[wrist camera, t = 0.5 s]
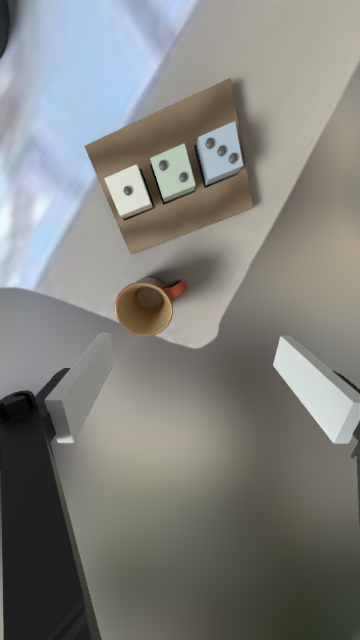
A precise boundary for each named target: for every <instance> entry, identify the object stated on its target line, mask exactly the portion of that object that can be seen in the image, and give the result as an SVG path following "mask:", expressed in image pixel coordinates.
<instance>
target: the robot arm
mask: <svg viewBox="0 0 360 640" xmlns="http://www.w3.org/2000/svg"><path fill="white" fill-rule="evenodd" d="M8 20H9V18H8V3H7V0H0V55H1V53H2V51H3V49H4V46H5V43H6V38H7V33H8ZM113 365H114V358H113V350H112V343H111V334H110V333H100V334H99V335H98V336H97V337H96V339H95V340H94V341H93V342H92V344H91V345H90V346H89V347H88V348H87V349H86V351H85V352H84V353H83V354H82V356H81V357H80V358H79V359H78V360H77V361H76V363H75V364H74V365H73V366H72V368H64V369H62V370H61V371H59V372H58V373H56V374H55V375H54V376H53V377H52V378H51V380H50V381H49V382H48V383H47V384H46V386H44V387H43V388H42V389H41V391H40V392H39V393H38V394H37V395H36V396H35V397H34V394H33V393H32V392H31V391H19V392H15V393H12V394H10V395H8V396H6V397H5V398H3V399H1V400H0V470H1V497H2V498H1V499H2V559H3V560H2V561H3V619H4V621H3V622H4V640H102V639H101V636H100V632H99V629H98V625H97V621H96V617H95V613H94V609H93V605H92V601H91V597H90V594H89V590H88V586H87V582H86V578H85V574H84V570H83V566H82V562H81V559H80V555H79V551H78V547H77V543H76V539H75V535H74V532H73V528H72V524H71V520H70V516H69V512H68V508H67V504H66V500H65V497H64V493H63V489H62V485H61V481H60V477H59V474H58V470H57V466H56V462H55V458H54V455H53V451H52V446H51V444H50V443H51V441H52V439H53V438H54V436H55V435H56V438H57V441H58V443H74V441H75V439H76V437H77V435H78V433H79V431H80V430H81V428H82V425H83V423H84V422H85V419H86V418H87V416H88V414H89V412H90V410H91V408H92V406H93V404H94V402H95V400H96V398H97V396H98V394H99V392H100V390H101V388H102V386H103V384H104V382H105V380H106V378H107V377H108V375H109V373H110V371H111V369H112V367H113ZM273 366H274V367H275V368H276V370H277V371H278V372H279V373H280V375H281V376H282V377H283V378H284V380H285V381H286V382H287V384H288V385H289V386H290V388H291V389H292V390H293V391H294V393H295V394H296V395H297V397H298V398H299V399H300V400H301V402H302V403H303V404H304V406H305V407H306V408H307V410H308V411H309V412H310V414H311V415H312V416H313V417H314V419H315V420H316V421H317V423H318V424H319V425H320V426H321V428H322V429H323V430H324V432H325V433H326V434H327V435H328V437H329V438H330V439H331V441H333V443H349V441H350V439H351V437H352V436H353V435H354V436H355V438H356V439H357V440H358V441H359V442H358V444H357V446H356V448H355V449H354V451H353V453H352V455H351V457H352V458H354V457H355V456H356V455H357V475H358V499H359V522H360V389H357V387H356V386H355V385H354V384H352V383H351V382H350V381H349V380H348V379H346V378H345V377H344V376H342V375H340V374H339V373H337V372H335V371H332V370H330V369H329V368H328V367H327V366H326V365H324V364H323V363H322V362H321V361H320V360H318V359H317V358H316V357H315V356H314V355H313V354H311V353H310V352H309V351H308V350H307V349H305V348H304V347H303V346H302V345H300V344H299V343H298V342H297V341H296V340H295V339H293V338H292V337H291V336H281V337H280V341H279V345H278V348H277V352H276V356H275V360H274V364H273Z"/></svg>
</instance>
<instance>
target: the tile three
mask: <svg viewBox="0 0 360 640" xmlns="http://www.w3.org/2000/svg"><path fill="white" fill-rule="evenodd" d="M196 149H197V153H198V157H199V161H200V165H201V169H202V173H203V177H204V181H205V185H209V184H211V183H214V182H216V181H219V180H221V179H223V178H226V177H228V176H231V175H233V174H236V173H237V172H238V171H239V170H240V169H241V167H242V166H243V162H242V156H241V151H240V145H239V140H238V134H237V129H236V123H235V121H234V122H232V123H229V124H227V125H225V126H222V127H220V128H218V129H216V130H213V131H211V132H209V133H206V134H204V135H202V136H200V137H198V142H197V147H196Z"/></svg>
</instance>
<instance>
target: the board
mask: <svg viewBox="0 0 360 640" xmlns="http://www.w3.org/2000/svg"><path fill="white" fill-rule="evenodd" d="M234 121H235V123H236V129H237V134H238V140H239V145H240V151H241V156H242V162H243V166H242V167H241V169H240V170H239V171H238V172H237V173H236V174H235V176H234V177H231V178H229V179H226V180H224V181H221V182H219V183H216V184H214V185H211V186H209V187H206V188H204V184H203V180H202V176H201V172H200V168H199V164H198V160H197V156H196V152H195V150H197V149H196V147H197V142H198V137H200V136H202V135H204V134H206V133H209V132H211V131H213V130H216V129H218V128H220V127H222V126H225V125H227V124H229V123H232V122H234ZM181 144H185V148H186V151H187V155H188V159H189V163H190V166H191V170H192V174H193V178H194V181H195V188H194V193H192V194H189V195H187V196H184V197H182V198H179V199H177V200H174V201H172V202H169V203H167V204H165V205H163V202H162V199H161V196H160V193H159V190H158V187H157V184H156V181H155V178H154V175H153V172H152V169H153V166H152V163H151V160H150V158H152V157H154V156H156V155H159V154H161V153H163V152H165V151H168V150H170V149H172V148H175V147H177V146H179V145H181ZM85 148H86V151H87V153H88V155H89V158H90V160H91V163H92V165H93V167H94V170H95V172H96V174H97V177H98V179H99V181H100V184H101V186H102V188H103V191H104V193H105V195H106V198H107V200H108V202H109V205H110V207H111V210H112V212H113V214H114V217H115V219H116V221H117V224H118V226H119V228H120V231H121V233H122V235H123V238H124V240H125V242H126V245H127V247H128V249H129V252H130V254H134V253H137V252H139V251H142V250H145V249H147V248H150V247H152V246H155V245H158V244H160V243H163V242H166V241H168V240H171V239H173V238H176V237H179V236H181V235H184V234H186V233H189V232H192V231H194V230H197V229H200V228H202V227H205V226H207V225H210V224H213V223H215V222H218V221H221V220H223V219H226V218H228V217H231V216H234V215H236V214H239V213H241V212H244V211H247V210H249V209H251V208H253V203H252V197H251V191H250V186H249V180H248V174H247V169H246V163H245V157H244V152H243V146H242V141H241V135H240V129H239V124H238V118H237V112H236V107H235V101H234V95H233V90H232V84H231V78H229V79H227V80H225V81H223V82H221V83H219V84H216V85H214V86H212V87H210V88H208V89H206V90H204V91H201V92H199V93H197V94H195V95H193V96H191V97H189V98H186V99H184V100H182V101H180V102H178V103H176V104H174V105H171V106H169V107H167V108H165V109H163V110H161V111H159V112H156V113H154V114H152V115H150V116H148V117H146V118H143V119H141V120H139V121H137V122H135V123H133V124H131V125H128V126H126V127H124V128H122V129H120V130H118V131H116V132H113V133H111V134H109V135H107V136H105V137H103V138H101V139H98V140H96V141H94V142H92V143H90V144H88V145H86V146H85ZM136 164H137V166H138V168H139V170H140V172H141V174H142V173H143V174H144V177H145V180H146V183H147V186H148V189H149V192H150V194H151V197H152V200H153V203H154V206H155V209H152V210H150V211H147V212H145V213H142V214H140V215H137V216H135V217H132V218H130V219H128V220H126V219H125V218H123V217H121V216H120V215H119V213H118V210H117V208H116V206H115V203H114V201H113V198H112V196H111V194H110V191H109V189H108V186H107V184H106V182H105V179H104V178H106V177H108V176H111V175H113V174H115V173H118V172H120V171H122V170H124V169H127V168H129V167H131V166H134V165H136Z"/></svg>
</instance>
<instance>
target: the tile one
mask: <svg viewBox="0 0 360 640" xmlns="http://www.w3.org/2000/svg"><path fill="white" fill-rule="evenodd" d="M104 179H105V182H106V184H107V186H108V189H109V191H110V194H111V196H112V198H113V201H114V203H115V206H116V208H117V210H118V213H119V215H120V216H121V217H123V218H128V217H130V216H133V215H135V214H137V213H140V212H142V211H145V210H147V209H150V208H152V207H153V206H152V203H151V200H150V197H149V194H148V191H147V189H146V186H145V183H144V180H143V177H142V174H141V172H140V170H139V168H138V166H137V164H136V165H134V166H131V167H129V168H127V169H124V170H122V171H120V172H118V173H115V174H113V175H111V176H108V177H106V178H104Z"/></svg>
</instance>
